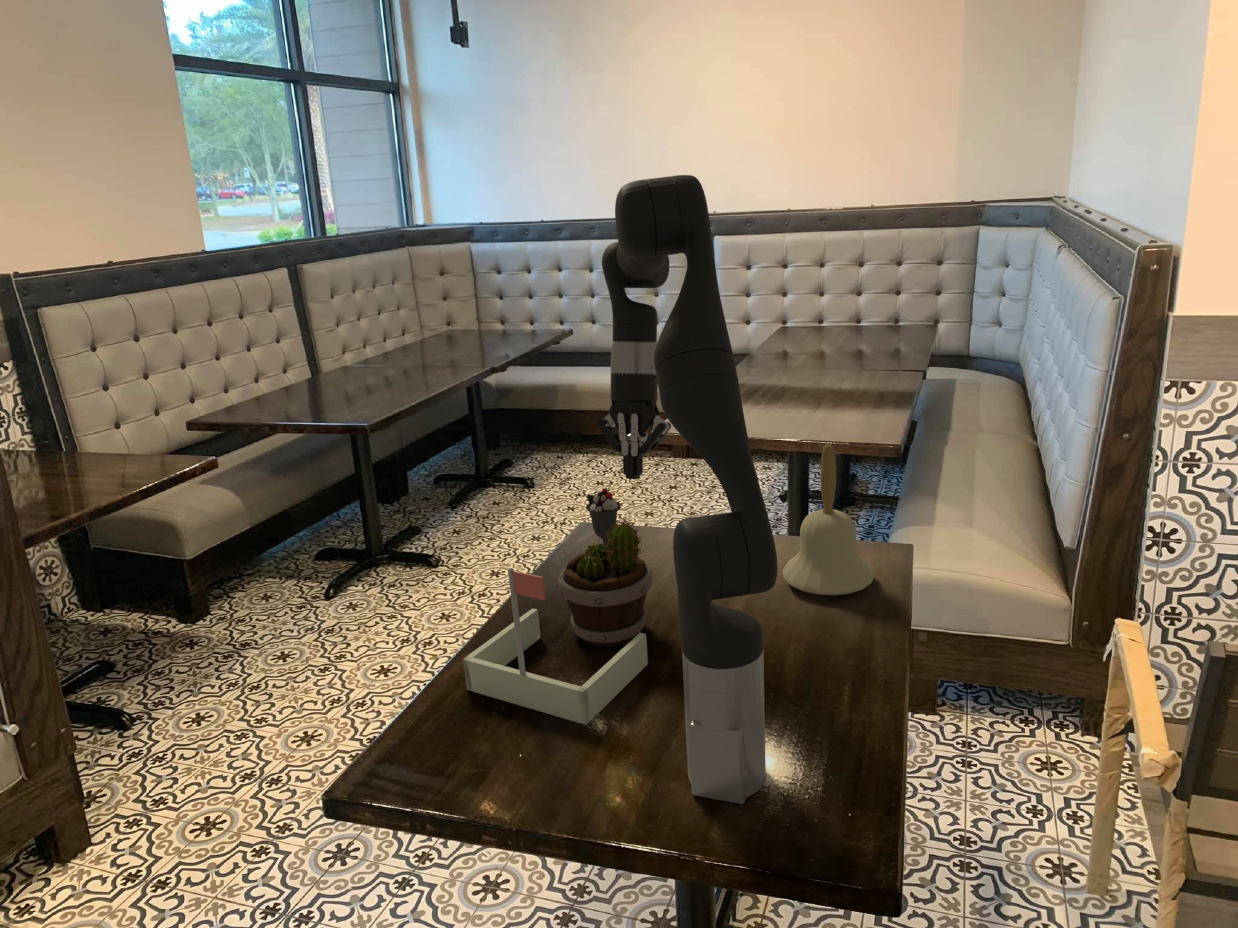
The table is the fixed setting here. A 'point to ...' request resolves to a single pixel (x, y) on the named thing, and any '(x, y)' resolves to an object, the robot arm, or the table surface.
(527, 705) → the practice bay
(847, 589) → the handbell
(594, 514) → the sundae
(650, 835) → the table surface
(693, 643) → the robot arm
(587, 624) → the flowerpot
